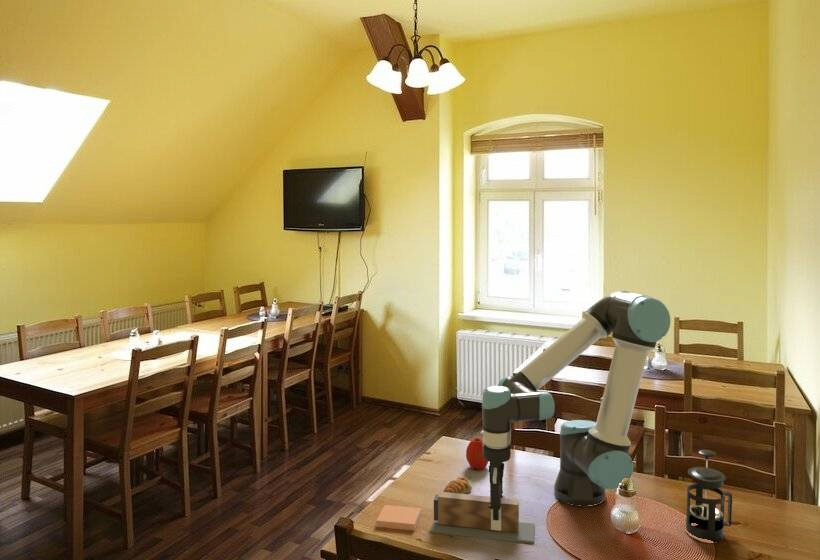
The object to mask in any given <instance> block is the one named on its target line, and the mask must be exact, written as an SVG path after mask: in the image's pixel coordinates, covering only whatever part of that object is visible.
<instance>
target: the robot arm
mask: <svg viewBox="0 0 820 560" xmlns="http://www.w3.org/2000/svg"><path fill="white" fill-rule="evenodd" d="M670 315H671V314H670V311H669V310H668V308H667V307H666V305H665V304H664V303H663V302H662V301H661V300H659V299H657V298H654V297H653V296H649V295H643V294H638V293H634V292H631V291H626V290H620V291H615V292H613V293H610V294H608V295H606V296H604V297H603V298H601V299H600V300H598V301H597V302H595V303H594V304H593V305H592V306H590V307H589V308H588V309H587V310H586V311H584V312H583V313H582V319H580V320H579V321H578V322H576V323H575V324H574V325H573V326H572V327H570V329H568V330H567V331H566V332H565V333H564V334H562V335H561V336H560V337H559V338H557V339H556V340H555V341H554V342H553V343H552V344H550V345H549V346H548V347H547V348H546V349H544V351H542V352H541V353H540V354H539V355H537V357H535V358H534V359H532V361H530V362H529V363H528V364H527V365H525V366H524V367H523V368H522V369H520V371H518V372H517V373H516V374H514V375H513V376H512V375H506V376H504V377H502V379H500V380H499V383H498V385H491V386H487V387H486V388H484V389H483V392H482V399H481V409H482V430H481V431H480V435H482V440H483V443H484V444H483V458H484V459H485V460H487V461H489V462H488V463H489V465H488V473H489V479H488V480H489V487H490V488H489V489H490V490H489V492H490V493H489V495H490V496H489V497H490V505H489V506H488V508H490V509H491V530H498V531H501V505H500V502H501V498H506V496H505V495H503V494H504V493H503V492H504V490H503V486H504V485H503V482H504V481H503V480H504V479H503V478H504V475H505V474H504V472H505V471H504V470H505V463H506V462H508V461H509V460H510V459H511V458H512V457H511V450H512V449H511V447H512V446H511V442H512V440H511V439H512V438H511V437H512V433H511V432H512V429H511V427H512V426H511V423H516V422H517V423H518V422H529V421H530V422H531V421H543V420H547V419H549V420H550V419H551V418H553V416H554V414H555V399H554V398H553V395H552V394H551V393H550V392H549V391H545V390H543V391H542V390H540V389H542V387H543V386H545V385H546V384H548V382H549V381H551V380H552V379H553V378H554V377H556V376H557V375H558V374H559V373H561V371H563V369H565V368H566V367H567V366H569V364H572V362H573V361H574V360H576V359H577V358H578V357H580V356H581V355H582V354H583V353H584V352H585V351H586V350H588V349H589V348H590V347H591V346H592V345H594V344H595V343H596V342H597V341H598V340H599V339H606V338H607V337H609V336H610V335H611V334H612V335H611V339H612V340H613V342H614V344H615V346H614V350H613V354H612V359H611V363H610V366H609V370H608V375H607V377H606V382H605V387H604V390H603V394H602V398H601V403H600V407H599V410H598V414H597V418H596V421H592V420H586V419H585V420H584V419H574V420H573V419H572V420H568V421H565V422H563V423H562V424H561V425H560V432H559V445H560V446H559V463H560V464H559V466H560V467H559V471H558V474H557V477H556V479H555V482H554V485H553V486H554V487H553V493H554V496H555V497H556V499H558V500H559V501H560V502H561V503H562V502H563V503H564V502H565V503H564V504H567V503H569V504H568V505H570V504H573V505H572V506H574V505H581V506H588V505H594V504H598V503H600V502H602V501H603V500H604V499H605V500H606V490H615V489H618V485H619V483H621V482H622V480H623V479H624V478H626V477H628V478H629V480H631V477H632V475H633V473H634V468H635V467H634V466H635V465H634V462H633V460H632V457H631V456H630V455H629V453H630V449H631V444H632V442H631V441H630V439H629V437H628V432H629V429H630V425H631V420H632V416H633V414H634V413H633V412H634V409H635V405H636V400H637V396H638V393H639V389H640V384H641V381H642V377H643V372H644V369H645V366H646V365H645V364H646V362H647V358H648V353H649V352H651V351H653V350H655V349H656V346H657V342H659V341H660V340H662V339H663V337H666V336H667V334H668V332H669V330H670V328H671V316H670Z"/></svg>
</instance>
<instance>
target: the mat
mask: <svg viewBox="0 0 820 560" xmlns="http://www.w3.org/2000/svg"><path fill="white" fill-rule="evenodd" d="M535 525H536V524H535V523H532V522H524V521H519V529H518V533H513V532H504V531H496V530H487V529H478V528H469V527H461V526H452V525H443V524H438V521H436V520H434V519H433V521H432V523H431V526H430V529H429V533H433V534H435V533H436V534H441V535H442V534H444V535H450V536H451V535H452V536H461V537H469V538H470V537H472V538H479V539H489V540H491V539H492V540H499V541H509V542H517V543H527V544H534V541H535Z"/></svg>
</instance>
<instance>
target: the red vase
mask: <svg viewBox="0 0 820 560" xmlns="http://www.w3.org/2000/svg"><path fill="white" fill-rule="evenodd" d="M483 444H484V443H483V438H480V437H474V438H472V440H470V441H469V443H468V445H467V447H466V451H465V458H466V461H467V462H468V463H467V464H468V465H469V466H470V467H471V468H472V469H473V470H477V471H482V470H484V469H486V467H488V466H487V465H488V463H490V462H489V461H487V460H485V459H484V458H483Z"/></svg>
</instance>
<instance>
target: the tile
mask: <svg viewBox="0 0 820 560" xmlns="http://www.w3.org/2000/svg"><path fill="white" fill-rule="evenodd" d="M421 516H422V508H421V507H411V506H402V505H401V506H400V505H390V504H384V506H383V508H381V511H380V513H379V515H378V516H377V518H376V520H375V522H376V523H375V525H376V527H377V528H383V527H385V529H394V530H402V531H403V530H407V531H413V532H414V531H416V528H417V526H418V523H419V521H420V518H421Z"/></svg>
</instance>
